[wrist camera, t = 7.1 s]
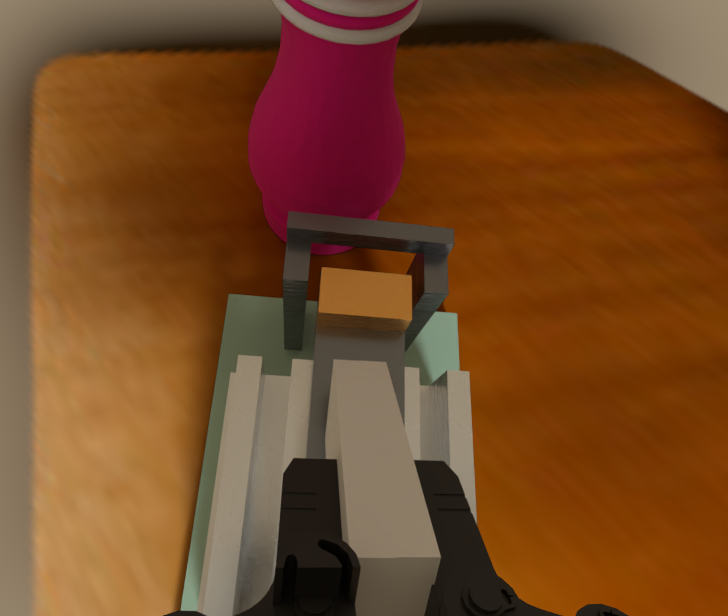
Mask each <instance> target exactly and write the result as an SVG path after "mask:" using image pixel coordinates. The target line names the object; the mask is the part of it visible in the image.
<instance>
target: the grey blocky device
mask: <svg viewBox="0 0 728 616" xmlns="http://www.w3.org/2000/svg"><path fill="white" fill-rule="evenodd" d="M311 243H320V244H330V245H340V246H349V247H359V248H369V249H379V250H389V251H399V252H409V253H416V255H415V257H414V259H413V261H412V263H411V265H410V267H409V269H408V271H407V273H406V275H412V321H411V323H410V324H409V326H408V327H407V329H406V330H405V352H406V351H407V349H408V348H409V347H410V345H411V344H412V343H413V341H414V340H415V338H416V337H417V336H418V334H419V333H420V332H421V330H422V329H423V328H424V326H425V325H426V324H427V322H428V321H429V320H430V318H431V317H432V315H433V314H434V313H435V311H436V310H437V309H438V307H439V306H440V305H441V303H442V302H443V301H444V299H445V298H446V297H447V295H448V267H447V256H448V254H449V252H450V251H451V249H452V248H453V246H454V229H451V228H442V227H433V226H424V225H414V224H405V223H396V222H386V221H377V220H368V219H358V218H349V217H340V216H330V215H321V214H312V213H302V212H293V211H289V212H288V221H287V244H286V253H285V262H284V271H283V314H284V349H287V350H300V351H302V345H303V334H304V322H305V311H306V300H307V288H308V277H309V265H310V253H311ZM312 369H313V360H303V359H292V369H291V376H277V375H265V369H264V363H263V357H261V356H247V355H238V360H237V367H236V373H233V372H231V373H230V380H229V387H228V394H227V401H226V408H225V415H224V422H223V430H222V437H221V444H220V451H219V458H218V465H217V472H216V479H215V486H214V493H213V500H212V507H211V514H210V521H209V528H208V535H207V542H206V549H205V557H204V564H203V571H202V578H201V585H200V592H199V599H198V606H197V611H198V612H200V613H202V614H204V615H206V616H234V615H237V614H239V613H241V612H244V611H246V610H248V609H250V608H251V607H253V606H254V605H255V604H257V603H258V602H259V601H260V600H261V599H262V598H263V597H264V596H265V594H266V593H267V592H268V591H269V589H270V587H271V585H272V583H273V580H274V576H275V567H276V559H277V546H278V533H279V520H280V507H281V494H282V481H283V473H284V471H285V470H286V468H287V467H288V465H289V464H290V462H291V461H292V459H293V458H306V448H307V435H308V422H309V409H310V396H311V382H312ZM405 431H406V434H407V438H408V441H409V445H410V449H411V452H412V456H413V459H414V460H431V461H444V462H445V463H446V464H447V465H448V466H449V467H450V468H451V469H452V470H453V471H454V473H455V474H456V475H457V476H458V477H459V480H460V483H461V485H462V488H463V490H464V493H465V498H467V501H468V503H469V506H470V509H471V513H472V514H473V516H474V519H475V522H476V524H477V517H476V498H475V478H474V458H473V439H472V419H471V399H470V379H469V372H468V371H455V370H447V371H445V372H444V373H443V374H442V375H441V376H440V377H439V378H438V379H436V380H435V381H434V382H433V383H432V384H431V385H430V386H423V385H420V380H419V368H413V367H405Z"/></svg>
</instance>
